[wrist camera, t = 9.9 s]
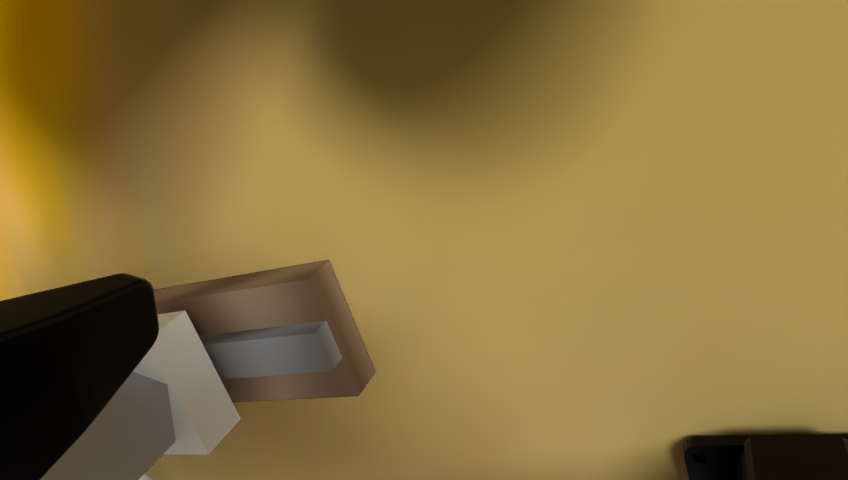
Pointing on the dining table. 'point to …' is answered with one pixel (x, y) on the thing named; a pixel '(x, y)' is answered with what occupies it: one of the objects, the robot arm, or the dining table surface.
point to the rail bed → (276, 333)
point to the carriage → (155, 411)
